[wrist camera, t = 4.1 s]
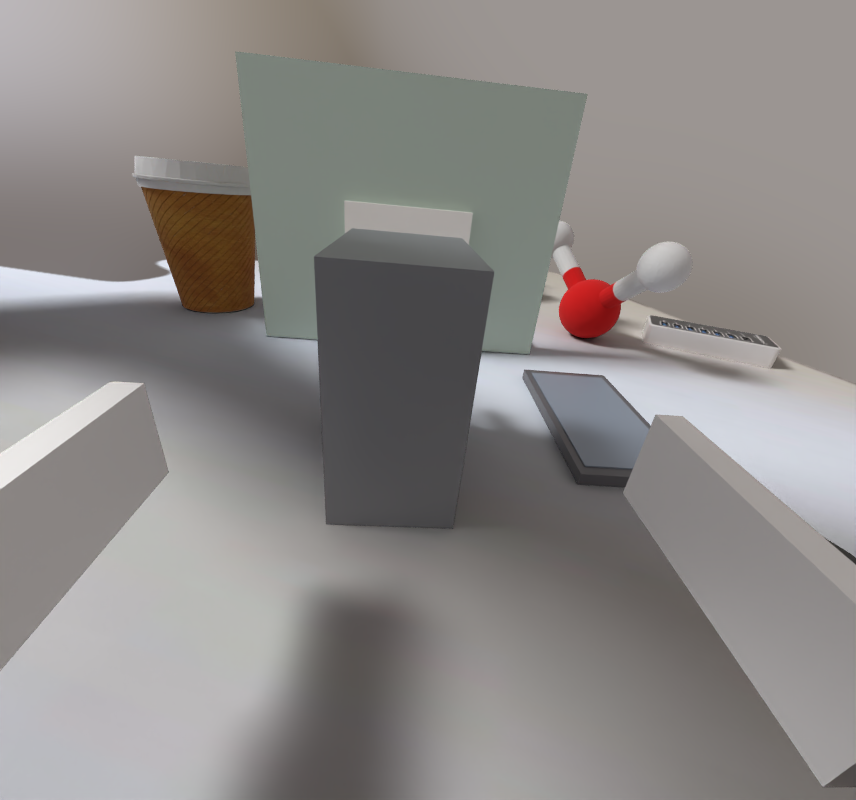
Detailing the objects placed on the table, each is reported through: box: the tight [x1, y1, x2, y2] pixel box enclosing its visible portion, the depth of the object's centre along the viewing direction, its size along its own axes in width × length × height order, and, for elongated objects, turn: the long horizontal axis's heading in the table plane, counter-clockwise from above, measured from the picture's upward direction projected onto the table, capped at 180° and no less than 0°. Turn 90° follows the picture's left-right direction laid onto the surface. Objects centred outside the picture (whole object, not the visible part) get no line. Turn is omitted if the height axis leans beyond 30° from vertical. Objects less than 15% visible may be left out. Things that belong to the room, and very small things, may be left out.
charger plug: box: [314, 228, 494, 529], centre depth 18 cm, size 5×10×10 cm, turn 2°
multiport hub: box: [642, 316, 781, 368], centre depth 40 cm, size 4×11×2 cm, turn 65°
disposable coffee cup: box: [132, 156, 255, 313], centre depth 36 cm, size 10×10×12 cm
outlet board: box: [235, 52, 587, 354], centre depth 31 cm, size 22×7×18 cm, turn 92°
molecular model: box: [551, 221, 693, 338], centre depth 37 cm, size 18×6×10 cm, turn 19°
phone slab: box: [523, 370, 651, 487], centre depth 24 cm, size 6×12×1 cm, turn 0°
